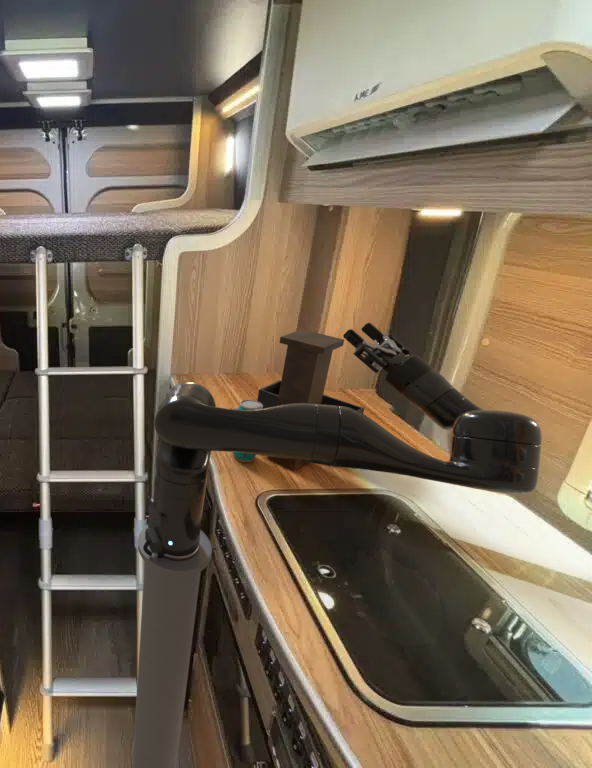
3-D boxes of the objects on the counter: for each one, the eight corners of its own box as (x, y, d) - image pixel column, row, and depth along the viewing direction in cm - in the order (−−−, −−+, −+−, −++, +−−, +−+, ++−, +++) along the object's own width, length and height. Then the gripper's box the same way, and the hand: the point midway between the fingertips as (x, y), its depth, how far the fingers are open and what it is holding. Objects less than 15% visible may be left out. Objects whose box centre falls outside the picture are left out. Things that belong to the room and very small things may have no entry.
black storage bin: (353, 451, 120) (364, 408, 115) (333, 465, 114) (345, 420, 109) (272, 419, 137) (279, 380, 132) (252, 430, 131) (258, 389, 126)
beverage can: (232, 462, 116) (239, 408, 110) (231, 450, 121) (238, 398, 115) (256, 465, 115) (265, 410, 109) (254, 452, 120) (262, 400, 114)
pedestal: (316, 462, 116) (344, 339, 103) (297, 475, 111) (324, 347, 98) (279, 446, 123) (301, 329, 110) (259, 457, 118) (280, 336, 105)
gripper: (446, 362, 97) (382, 311, 104) (419, 378, 89) (352, 321, 96) (416, 386, 102) (358, 335, 109) (389, 403, 94) (327, 347, 101)
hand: (355, 328), depth 102 cm, fingers open, 8 cm apart
